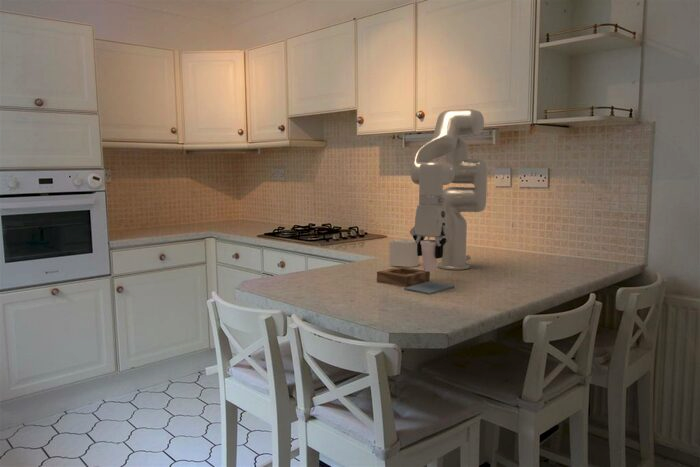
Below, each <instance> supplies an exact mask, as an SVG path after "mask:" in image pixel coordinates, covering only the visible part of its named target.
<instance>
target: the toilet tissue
mask: <svg viewBox="0 0 700 467" xmlns="http://www.w3.org/2000/svg"><path fill="white" fill-rule="evenodd" d="M388 244H389V259H388V260H389V262H388V266H392V267H405V268H411V267H412V268H414V267H418V266H419V265H420V256H417V244H416V241H415V240H414V238H398V239H397V238H396V239H393V240H392V241H389V243H388Z"/></svg>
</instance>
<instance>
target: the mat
mask: <svg viewBox="0 0 700 467" xmlns="http://www.w3.org/2000/svg"><path fill="white" fill-rule="evenodd" d="M450 288H451V289H453V288H455V285H454V284H448V283H447V284H446V283H443V282H442V283H440V282H435V281H428V282H425V283H421V284H417V285H413V286H410V287H404V288H403V290H405V291H409V292H413V293H418V294H424V295H433V294H436V293H437V294H438V293H439V292H444V291H448V290H450Z"/></svg>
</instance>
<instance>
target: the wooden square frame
mask: <svg viewBox="0 0 700 467" xmlns="http://www.w3.org/2000/svg"><path fill="white" fill-rule="evenodd" d="M430 273H431V272H429V271H424V269H417V268H416V269H415V268H411V267H400V266H396V267H394V268H393V267H392V268H387V269H383V270H379V271H376V283H381V284H388V285H393V286H398V287H402V288H403V287H404V288H406V287H410V286H413V285H417V284H421V283H425V282H428V281H430V280H431V274H430ZM430 282H431V281H430Z"/></svg>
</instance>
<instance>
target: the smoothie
mask: <svg viewBox="0 0 700 467" xmlns="http://www.w3.org/2000/svg"><path fill="white" fill-rule="evenodd" d="M430 238H431V237H427V239H424V240H421V241H420V244H421V249H422V256H421V257H422V266H423V270H424V271H429V272H430V273H431V272H436V267H437V261H438V259H437V258H435V247H436V246H437V243H436V240H435V239H430Z"/></svg>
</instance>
